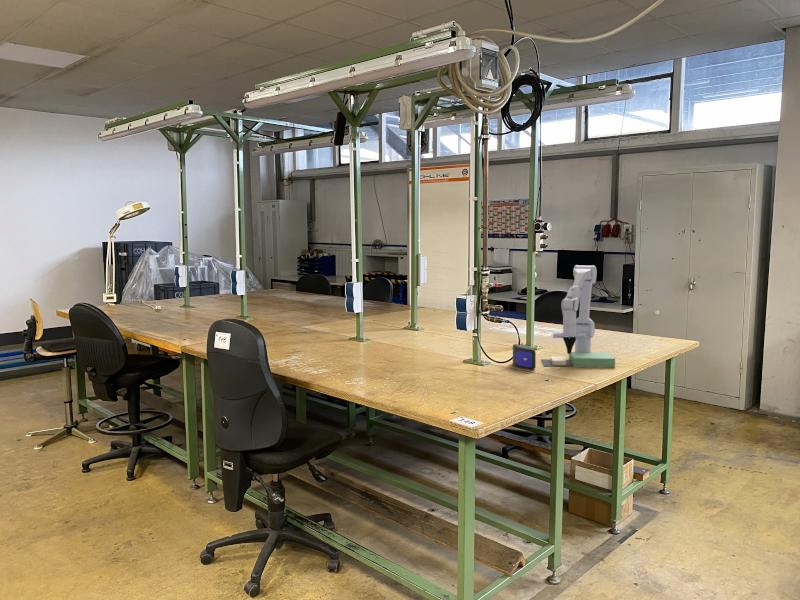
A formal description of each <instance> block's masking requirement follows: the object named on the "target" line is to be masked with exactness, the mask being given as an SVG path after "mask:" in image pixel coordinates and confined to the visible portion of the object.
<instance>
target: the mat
mask: <svg viewBox="0 0 800 600" xmlns="http://www.w3.org/2000/svg"><path fill="white" fill-rule="evenodd" d="M565 360H566V365H552V363H551V361H550V358H549V359H547V358H546V359H540V361H541V364H542V366H543V365H544V366H543V367H549V368H551V367H552V368H553V367H555V368H556V367H557V368H559V367H560V368H561V367H562V368H574V367H573V365H572V363H571V362H570V360H569V359H565Z"/></svg>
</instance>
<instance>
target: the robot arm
mask: <svg viewBox="0 0 800 600" xmlns="http://www.w3.org/2000/svg"><path fill="white" fill-rule="evenodd" d="M572 270H573V271H572V272H573V275H572V276H573V277H574V281H573V283H572V286H570V287H569V289H568V291H567V294H566V296H565V297H564V299H563V298H562V300H561V305H560V308H561V312H562V313H561V314H562V318H563V319H562V332H555V333H552V338H553V339H562V340H563V342H564V345H565V348H566V352H567V355H569V354H571V352H573V351H572V350H573V347H574V352H592V350H591V348H592V347H591V346H592V345H591V344H592V338H594V336H595V332H596V329H595V328H596V327H595V322H594V321H593V320H592V319H591V318H590V311H591V299H592V290H593V289H592V287H593V284H596V281H597V274H598V272H597V271H598V270H597V267H596V266H595V265H594V264H593V265H579V264H575V265H574V267H573V269H572ZM579 300H580V301H579ZM577 311H579V313H578V317H577Z"/></svg>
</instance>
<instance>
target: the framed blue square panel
mask: <svg viewBox="0 0 800 600" xmlns="http://www.w3.org/2000/svg"><path fill="white" fill-rule="evenodd" d="M536 353H537V352H536V350H535V349H534V348H531V347H527V346H524V345H521V344H517V343H513V345H512V364H513V366H515V367H518V368H520V369H523V370H528V369H529V370H530V371H533V370H535V369H536Z"/></svg>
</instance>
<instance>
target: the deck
mask: <svg viewBox="0 0 800 600" xmlns="http://www.w3.org/2000/svg"><path fill="white" fill-rule="evenodd" d="M568 360H570V362H571V363H572V365H573V367H572V368H616V358H615V357H614V356H613V355H612V354H611V353H610V352H608V351H606V352H605V351H603V352H602V351H601V352H599V351H591V352H575V351H571V354H568Z"/></svg>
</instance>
